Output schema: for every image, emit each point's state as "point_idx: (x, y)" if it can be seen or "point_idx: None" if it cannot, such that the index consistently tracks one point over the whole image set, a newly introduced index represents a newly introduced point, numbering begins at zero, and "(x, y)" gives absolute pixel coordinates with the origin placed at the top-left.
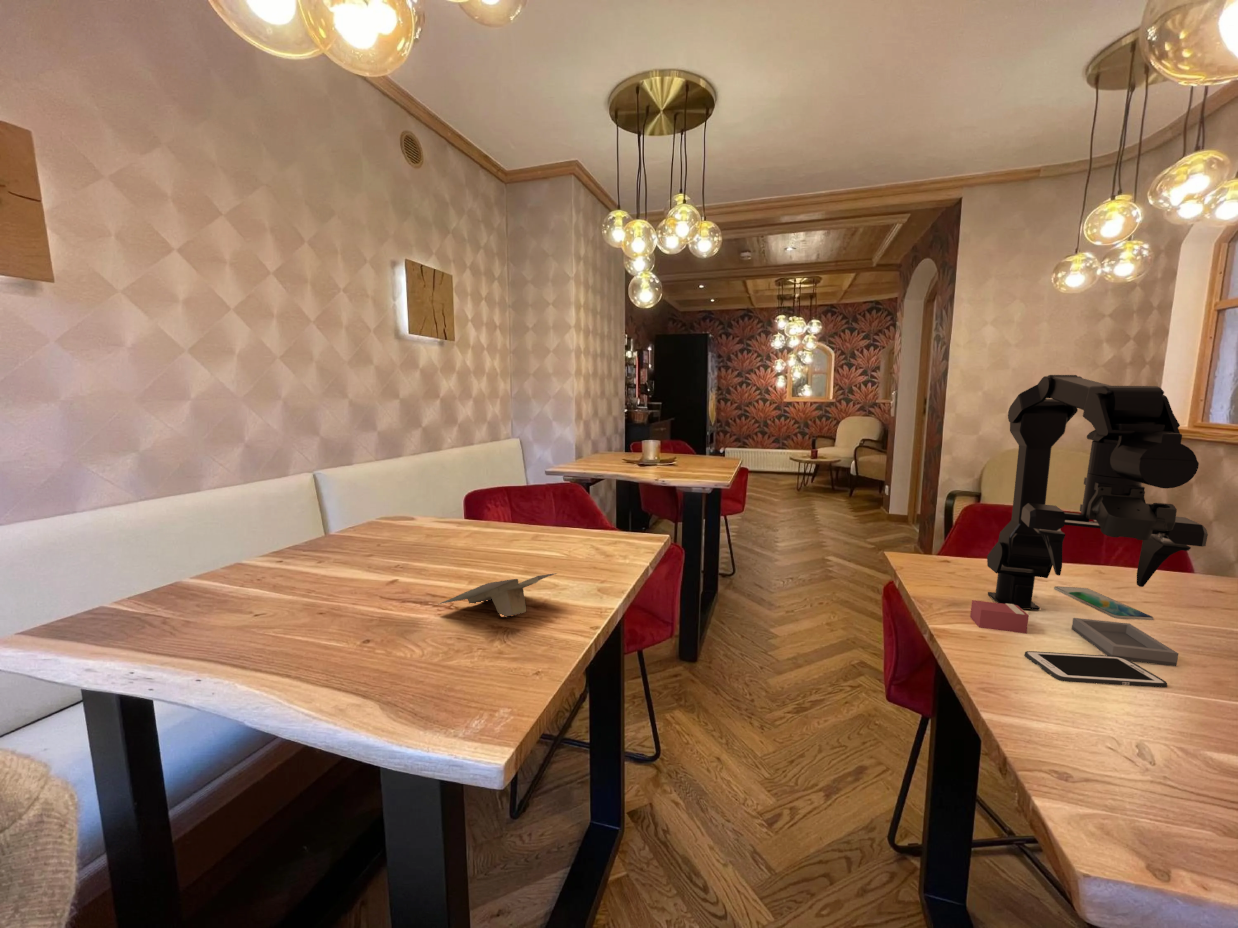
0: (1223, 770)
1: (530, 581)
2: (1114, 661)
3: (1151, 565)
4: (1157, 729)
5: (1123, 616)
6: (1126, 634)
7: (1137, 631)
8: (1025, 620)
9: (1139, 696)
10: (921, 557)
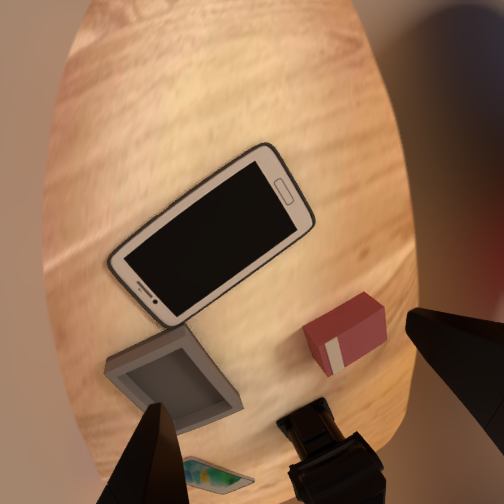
0: (91, 8)
1: None
2: (180, 299)
3: (132, 490)
4: (139, 57)
5: (183, 461)
6: (173, 417)
7: None
8: (316, 338)
9: (145, 173)
10: (376, 448)
